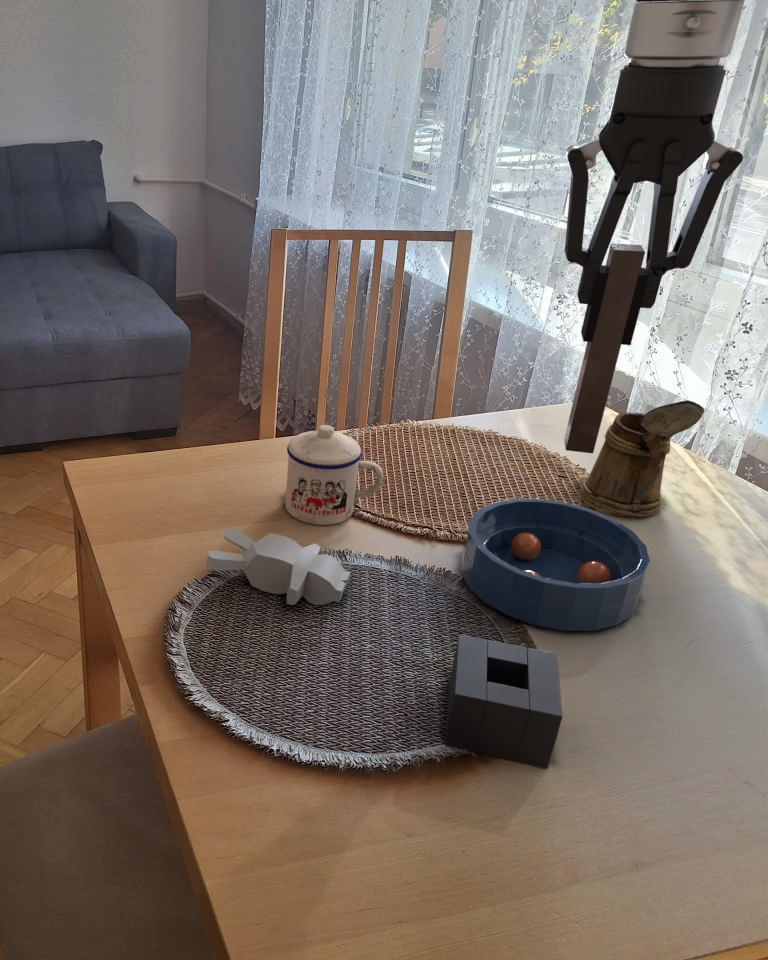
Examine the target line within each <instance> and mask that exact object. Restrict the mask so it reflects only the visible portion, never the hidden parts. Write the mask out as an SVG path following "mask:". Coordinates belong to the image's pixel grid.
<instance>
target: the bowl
mask: <svg viewBox="0 0 768 960" xmlns="http://www.w3.org/2000/svg"><path fill="white" fill-rule="evenodd" d="M523 532H528V533H532V534H534V535H535V536H536V537H538V539H539V540H540V542H541V551H540V553H539V555H538V556H537V557H536V558H534V559H532V560H521V559H519V558H517V557H516V556H515V555H514V554H513V553H512V551H511V541H512V539H513V538H514V537H515V536H516V535H517V534H519V533H523ZM589 561H598V562H601V563H603V564H605V565H606V566H607V567H608V568H609V570H610V572H611V581H610V582H605V583H580V582H579V580H578V571H579V569H580V567H581V566H582V565H583V564H585V563H586V562H589ZM650 563H651V559H650V555H649V552H648V548H647V545H646V544H645V543H644V541H642V540H641V538H640V537H639V536H638V535H637V534H636V533H635V532H634V531H633V530H632V529H630V528H628V527H627V526H625V525H623V524H622V523H621V522H620V521H618V520H616V519H614V518H612V517H610V516H608V515H606V514H604V513H602V512H600V511H597V510H595V509H591V508H588V507H584V506H581V505H577V504H574V503H570V502H566V501H560V500H554V499H553V500H552V499H547V498H546V499H545V498H538V497H537V498H536V497H535V498H532V497H531V498H510V499H504V500H499V501H494V502H492V503H489V504H487V505H485V506H483V507H481V508H479V509H477V511H476V512H475V513H474V514H473V515H472V517H471V518H470V519H469V521H468V527H467V531H466V537H465V542H464V548H463V552H462V559H461V575H462V578H463V579H464V581H465V583H466V586H467V587H468V588H469V589H470V590H471V591H472V592H473V593H474V594H475V595H476V596H477V597H478V598H479V599H480V600H481V601H482V602H484V603H485V604H487V605H488V606H490V607H492V608H493V609H495V610H497V611H499V612H501V613H502V614H504V615H506V616H508V617H511V618H513V619H516V620H519V621H521V622H524V623H527V624H530V625H533V626H538V627H543V628H547V629H554V630H559V631H565V632H566V631H571V632H573V631H576V632H578V631H581V632H583V631H585V632H586V631H587V632H588V631H589V632H592V631H598V630H602V629H608V628H612V627H615V626H618V625H619V624H621V623H622V622H624V621H626V620H627V619H628V618H630V617H631V616H632V615H633V612H634V611H635V608H636V606H637V604H638V601H639V598H640V594H641V593H642V588H643V586H644V582H645V580H646V576H647V572H648V569H649V566H650ZM521 570H533V571H535V572H537V573H538V574H539V575H540V576H541V577H540V576H537V575H534V574H530V573H527V572H524V571H521Z"/></svg>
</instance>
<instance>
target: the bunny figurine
mask: <svg viewBox="0 0 768 960" xmlns="http://www.w3.org/2000/svg"><path fill="white" fill-rule="evenodd" d="M223 537H224V539H225V540H226V541H227V542H229V543H231V544H232V545H235V546H237V547H238V548H240V549H241V550H244V552H242V553H237V552H230V551H223V550H211V551H209V552H208V553H207V557H206V561H205V566H206V568H208V569H209V570H212V571H243V572H244V574H245V576H246V579H247V580H248V581H249V584H250V586H252V587H254V588H256V589H258V590H260V591H263V592H266V593H269V594H274V595H282V594H286V604H287V605H291V606H292V605H293V606H295V605H296V604H297V603H298V601H300V599H301V598H302V597H303V598H304V599H305V600H306V601H307V603H309V604H312V605H315V606H324V605H326V604H327V605H328V604H329V603H332V602H335V603H340V602H341V599H342V597H343V595H344V592H345V590H346V587H347V585H348V584H349V580H350V575H351V571H348V570H346V569H345V568H344V567H343V565H342V564H341V562H340V561H339V560H338V559H336V558H335V557H334V556H333V555H330V554H326V553H323V554H320V552H321V548H322V546H320V545H319V544H317V543H315V542H313V543H311V544H309V545H306V546H302V545H300V544H299V543H298V542H297V541H296V540H294V539H293V538H290V537H289V536H285V535H282V534H278V533H272V532H270V533H268V534H266V535H265V536H263V537H262V538H260V539H258V540H257V541H254V540H253V539H252V538H251V537H249V536H248V535H247V534H246V533H244V532H242V531H241V530H240V529H238V528H237V527H233V526H232V527H227V528H226V529H224V532H223Z"/></svg>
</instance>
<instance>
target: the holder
mask: <svg viewBox="0 0 768 960" xmlns="http://www.w3.org/2000/svg"><path fill="white" fill-rule="evenodd" d="M450 672H451V673H450V677H449V682H448V694H447V708H446V718H445V720H446V721H445V731H444V733H445V735H444V746H446V747H451V748H456V749H460V750H464V751H468V752H473V753H477V754H481V755H485V756H489V757H494V758H498V759H502V760H507V761H512V762H517V763H520V764H525V765H528V766H533V767H536V768H537V767H538V768H541V769H549V766H550V763H551V759H552V755H553V752H554V748H555V745H556V741H557V738H558V734H559V730H560V727H561V723H562V720H563V717H564V716H563V707H562V706H563V705H562V696H561V694H562V693H561V684H560V682H561V681H560V672H559V658H558V653H557V652H552V651H547V650H541V649H536V648H530V647H526V646H521V645H516V644H510V643H505V642H499V641H495V640H489V639H485V638H480V637H474V636H469V635H464V634H458V635H457V642H456V647H455V651H454V657H453V662H452V666H451V671H450Z"/></svg>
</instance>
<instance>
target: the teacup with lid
mask: <svg viewBox="0 0 768 960" xmlns="http://www.w3.org/2000/svg"><path fill="white" fill-rule="evenodd" d="M286 452H287V455H288V459H287V472H286V473H287V474H286V489H285V490H286V491H285V503H284V504H285V509H286V512H288V513H289V514H290V515H291V516H292V517H293V518H295V519H296V520H297V521H298V520H299V521H301V522H303V523H305V524H310V525H317V526H331V525H336V524H340V523H342V522H345V521H346V520H348V519H349V518H350V517H351V516H352V515H353V513H354V510H355V509H354V508H355V499H356V498H357V499H364V498H369V497H371V496H373V495H375V494H376V493H377V492H378V491H379V490H380V488H381V486H382V485H383V482H384V472H383V469H382V467H381V466H380V465H379V464H377V463H376V462H373V461H370V460H361V459H362V454H363V452H362V449H361V446H360V444H359V443H358V441H356V439H354V438H352V437H351V436H349V435H347V434H345V433H342V432H338V431H335V428H334V426H332V425H329V424H321V425H319V426H318V427H317V430H310V431H304V432H301V433H299V434H297V435H295V436H294V437H292V439H290V441H289V442H288V445H287V448H286ZM359 469H367V470H371V471H373V472H374V473H375V474H376V475H377V478H376V480H375V482H374V483H373V484H372V485H371V486H370V487H368V488H365V489H357V482H358V473H359Z"/></svg>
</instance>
